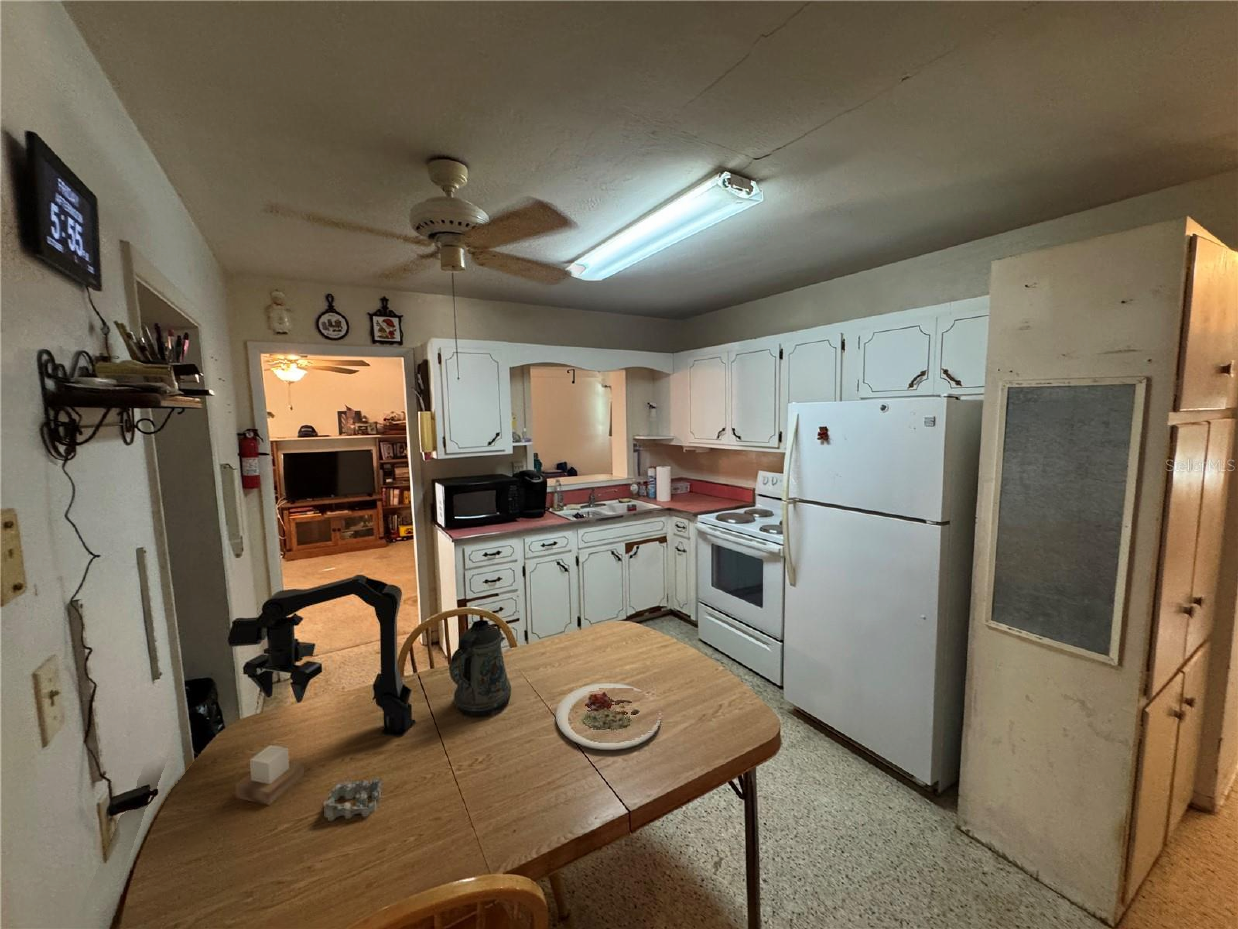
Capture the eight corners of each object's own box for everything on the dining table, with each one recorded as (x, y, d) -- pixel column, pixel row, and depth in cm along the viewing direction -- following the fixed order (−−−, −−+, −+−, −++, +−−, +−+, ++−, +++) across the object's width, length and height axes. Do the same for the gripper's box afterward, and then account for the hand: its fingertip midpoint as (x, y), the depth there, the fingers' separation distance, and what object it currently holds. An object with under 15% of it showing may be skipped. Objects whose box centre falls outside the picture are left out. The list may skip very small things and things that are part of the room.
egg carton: (319, 823, 103) (318, 805, 102) (335, 795, 110) (334, 779, 110) (372, 818, 104) (372, 801, 104) (385, 791, 112) (384, 775, 111)
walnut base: (303, 775, 116) (303, 763, 115) (269, 805, 107) (268, 792, 107) (272, 769, 117) (271, 757, 117) (236, 797, 109) (235, 785, 108)
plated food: (618, 772, 119) (618, 760, 119) (533, 723, 137) (533, 712, 137) (680, 714, 143) (680, 703, 143) (601, 678, 161) (601, 668, 161)
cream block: (289, 768, 114) (287, 748, 113) (269, 784, 109) (268, 763, 108) (271, 764, 115) (270, 745, 114) (251, 780, 110) (250, 759, 109)
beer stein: (515, 686, 155) (515, 611, 152) (503, 726, 135) (502, 640, 133) (463, 686, 154) (462, 610, 151) (443, 725, 135) (441, 639, 132)
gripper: (337, 632, 130) (339, 687, 131) (278, 624, 133) (281, 678, 135) (302, 652, 119) (305, 712, 120) (239, 643, 122) (243, 701, 124)
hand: (284, 699), depth 125 cm, fingers open, 9 cm apart
